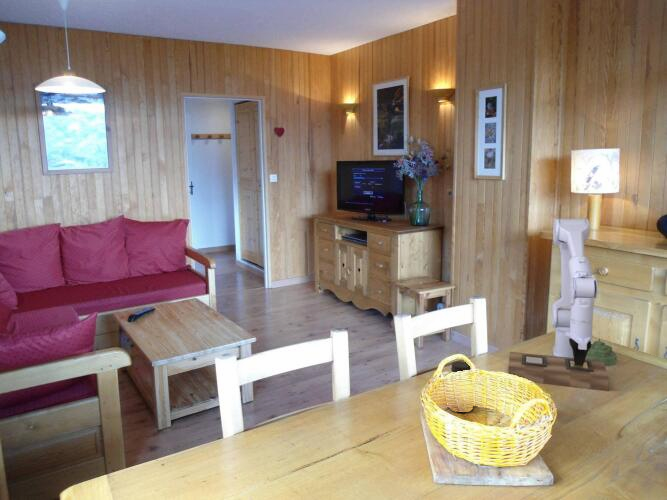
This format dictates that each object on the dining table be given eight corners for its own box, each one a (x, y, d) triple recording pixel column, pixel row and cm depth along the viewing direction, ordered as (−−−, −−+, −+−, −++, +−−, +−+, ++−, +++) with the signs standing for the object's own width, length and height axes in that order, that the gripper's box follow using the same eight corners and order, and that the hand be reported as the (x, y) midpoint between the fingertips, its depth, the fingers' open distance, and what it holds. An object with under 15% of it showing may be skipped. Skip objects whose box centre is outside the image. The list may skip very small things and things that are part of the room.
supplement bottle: (476, 413, 133) (477, 369, 131) (449, 414, 134) (450, 370, 131) (470, 401, 140) (471, 358, 138) (444, 401, 140) (445, 359, 138)
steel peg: (525, 369, 158) (526, 356, 157) (541, 371, 157) (542, 358, 156) (525, 375, 154) (525, 362, 153) (541, 377, 153) (542, 363, 152)
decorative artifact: (590, 352, 171) (574, 359, 165) (591, 331, 170) (575, 338, 164) (621, 361, 163) (606, 369, 157) (623, 339, 162) (607, 347, 156)
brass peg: (568, 374, 154) (569, 360, 153) (585, 375, 153) (586, 362, 152) (570, 380, 150) (570, 366, 149) (587, 382, 148) (588, 368, 148)
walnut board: (509, 363, 163) (509, 350, 163) (602, 373, 154) (603, 359, 154) (507, 379, 152) (508, 365, 152) (607, 391, 143) (608, 375, 143)
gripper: (564, 310, 156) (562, 354, 159) (567, 326, 143) (565, 373, 145) (590, 312, 154) (588, 356, 156) (596, 328, 140) (593, 376, 143)
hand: (578, 364), depth 150 cm, fingers closed, pressing on brass peg
